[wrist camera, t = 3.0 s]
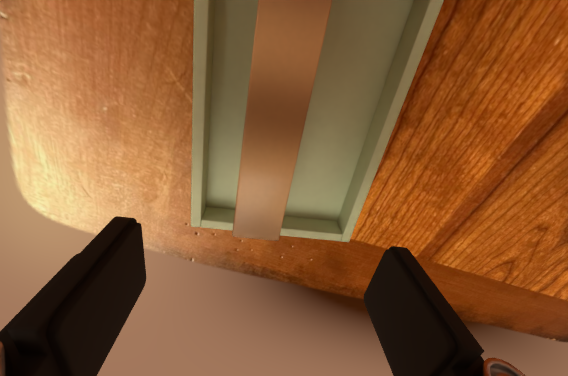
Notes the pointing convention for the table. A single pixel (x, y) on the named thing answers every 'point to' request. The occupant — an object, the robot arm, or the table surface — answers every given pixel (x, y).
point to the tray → (321, 112)
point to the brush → (276, 110)
